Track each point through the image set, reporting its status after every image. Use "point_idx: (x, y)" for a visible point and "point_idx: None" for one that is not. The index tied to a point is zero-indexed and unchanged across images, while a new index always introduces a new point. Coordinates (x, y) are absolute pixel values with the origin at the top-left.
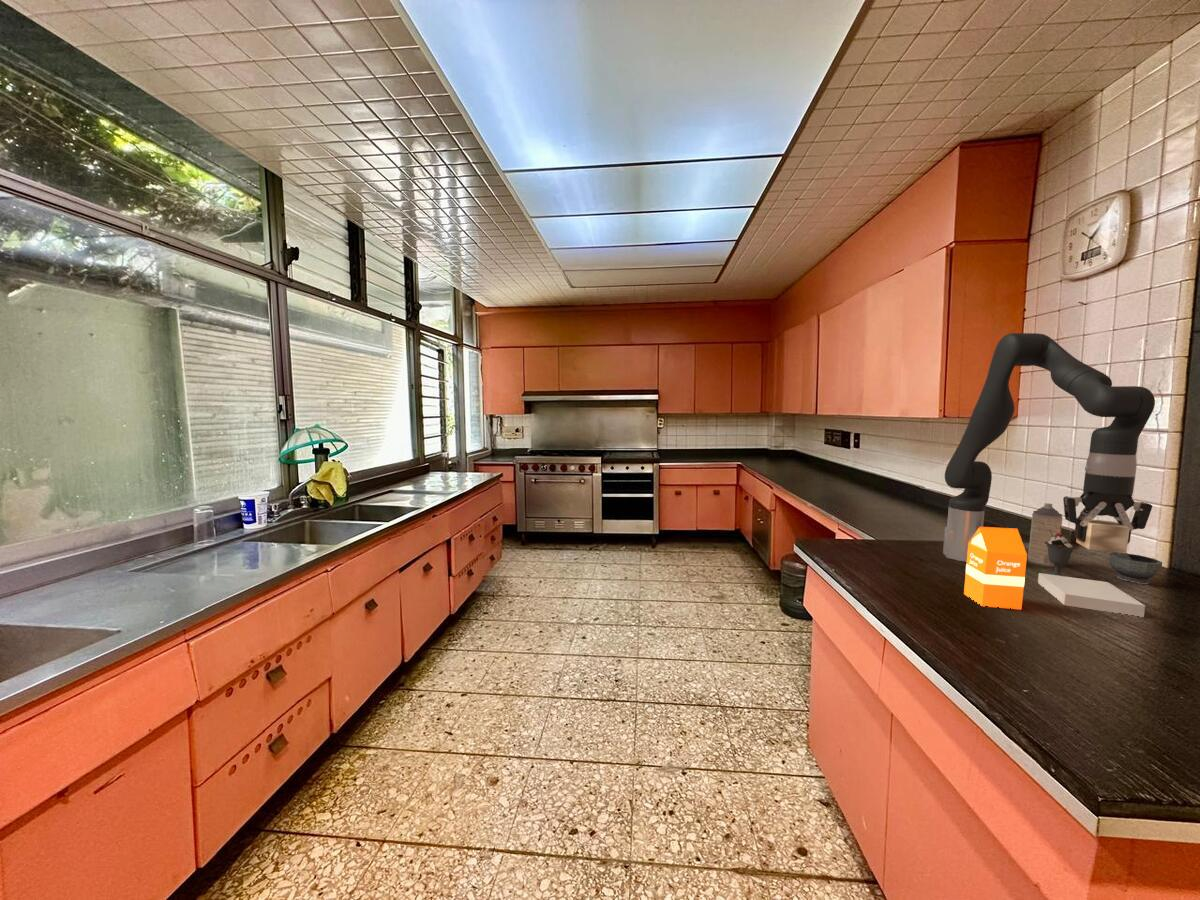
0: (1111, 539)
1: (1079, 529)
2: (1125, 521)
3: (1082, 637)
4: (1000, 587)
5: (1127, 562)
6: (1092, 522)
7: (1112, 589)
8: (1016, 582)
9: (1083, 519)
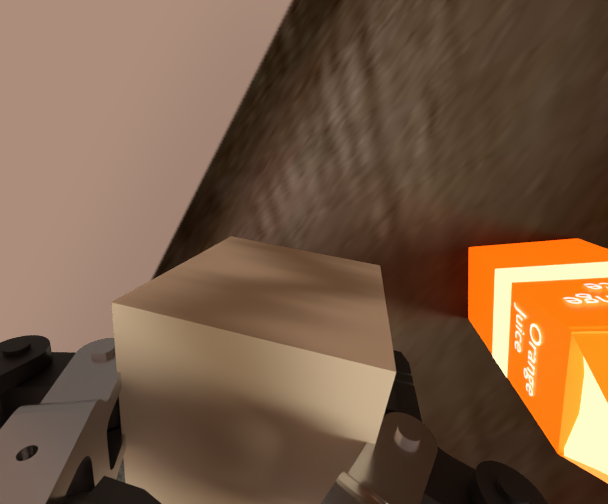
0: (271, 273)
1: (410, 401)
2: (76, 402)
3: (426, 104)
4: (568, 261)
5: (124, 478)
6: (325, 449)
7: None
8: (528, 271)
9: (421, 488)
